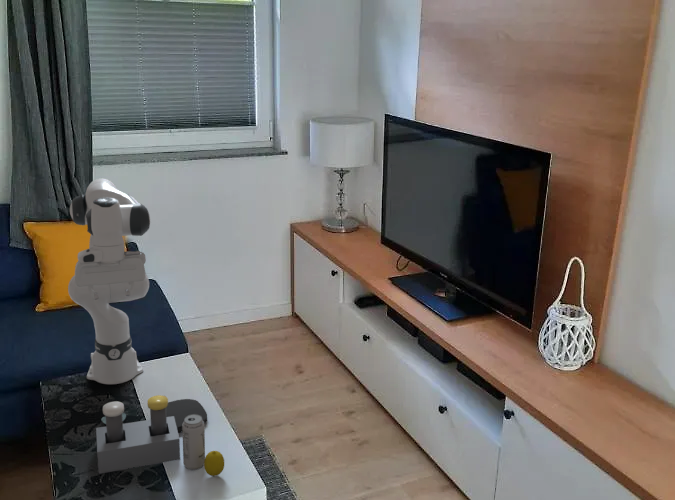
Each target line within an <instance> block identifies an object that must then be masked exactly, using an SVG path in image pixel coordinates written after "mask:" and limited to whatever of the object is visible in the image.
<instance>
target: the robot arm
mask: <svg viewBox="0 0 675 500" xmlns="http://www.w3.org/2000/svg"><path fill="white" fill-rule="evenodd" d="M69 214H70V217H71V219H72V221H73V222H74V223H75V225H79V226H86V225H87V226H86V227H87V229H86V230H87V233H89V234H90V235H89V236H90V237H89V245H88V246H89V248H87V249H83V250H81V251H79V252H78V253H77V260H78V261H77V262H76V264H75V267H74V275H73V276H72V277H71V278H70V280H69V282H68V285H67V287H68V288H67V289H68V290H67V292H68V295H69V297H70V299H71V300H72V301H73V302H74V303H75V304H77V305H79V306H81V307H82V308H83V309H85V310H86V311H87V312H88V313H89V315H90V316H91V319H92V321H93V327H94V330H95V339H94V350H95V351H94V352H91V353H90V360H91V364H90V366H89V369H88V372H87V375H86V380H89V381H90V380H91V381H95V382H97V383H99V384H103V385H117V384H123V383H126V382H128V381H130V380H132V379H133V378H135V377H136V376H137V375H139V374H141V373H144V368H143V366H142V365H141V363H140V362H139V360H138V357H137V351H136V350H135V349H134V348H133V347H132V342H133V341H132V336H131V334H130V321H129V320H130V319H129V316H128V314H127V313H126V312H124V311H123V310H121V309H119V308H115V307H114V306H111V305H110V303H119V302H131V301H135V300H138V299H142V298H144V297H146V295H147V293H148V291H149V289H150V280H149V277H148V275H147V274H146V269H145V268H146V267H145V263H146V259H147V258H146V254H145V253H144V252H142V251H140V250H135V251H125V240H124V236H125V237H126V236H133V237H134V236H135V237H138V236H143V235H145V234H146V233H147V232H148V231H149V229H150V226H151V216H150V213H149V210H148V208H147V207H146V206H145V205H143V204H142V203H139V202H138V201H137V200H136V198H134V197H133V196H132V195H130V194H129V193H125V192H124V191H121V190H119V189H118V187H117V186H116V184H114V183H113V181H111V180H110V179H107V178H102V177H99V178H96V179H93V180H92V181H91V182H90V183H89V184H88V186H87V187H86V192H85V194H83V193H80V195H78V196H75V197H74V198H73V199H72V200H71V203H70V206H69Z"/></svg>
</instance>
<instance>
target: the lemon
mask: <svg viewBox="0 0 675 500" xmlns="http://www.w3.org/2000/svg"><path fill="white" fill-rule="evenodd" d="M203 467H204V470H205V473H206V474H207V475H209V476H211V477H216V476H218V475H221V473H222V472H223V470H224V468H225V458H224V456H223V454H222V453H221V452H220V451H218V450H212V451H210V452H208V453H207V454H205V460H204V465H203Z"/></svg>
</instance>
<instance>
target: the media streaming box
mask: <svg viewBox="0 0 675 500" xmlns="http://www.w3.org/2000/svg"><path fill="white" fill-rule="evenodd" d="M192 414H197V415H200V416H201V417H202V420H203V421H204V426H205V425H206V424H207V423H208V413H207V411H206V409H205V408H204V407H203V405H202V404H201V402H199V401H198V400H196V399H193V398H181V399H176V400H172V401H168V406H167V407H166V417H171V416H174V418H175V422H176V426H177V431H178V434H180V433H182V424H183V422H184V419H185V417H187V416H188V415H192Z"/></svg>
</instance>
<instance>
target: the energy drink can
mask: <svg viewBox="0 0 675 500" xmlns="http://www.w3.org/2000/svg"><path fill="white" fill-rule="evenodd" d="M205 432H206V431H205V425H204V421H203V420H202V417H201V416H200V415H197V414H192V415H188V416H187V417H185V419H184V422H183V424H182V432H181V433H182V454H183V455H182V456H183V459H182V461H183V465H184V467H185V468H186V469H187V470H190V471H196V470H200V469H201V468H202V467H204V460H205V457H206V443H205V442H206V441H205V439H206V437H205Z"/></svg>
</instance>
